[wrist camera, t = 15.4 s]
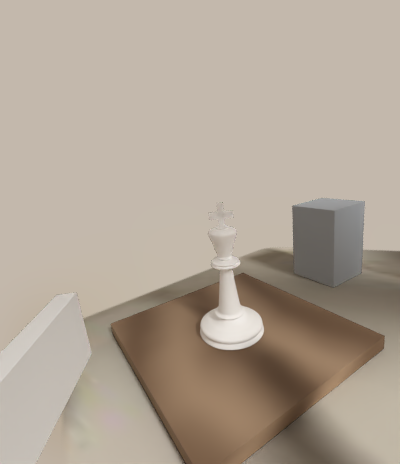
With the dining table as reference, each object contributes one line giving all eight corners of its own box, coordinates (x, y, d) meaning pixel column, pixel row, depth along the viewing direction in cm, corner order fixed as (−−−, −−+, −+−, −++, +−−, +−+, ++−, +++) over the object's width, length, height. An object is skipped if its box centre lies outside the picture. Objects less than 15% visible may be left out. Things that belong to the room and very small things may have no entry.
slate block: (321, 261, 35) (321, 198, 33) (361, 273, 31) (364, 201, 29) (294, 273, 33) (292, 205, 31) (333, 287, 29) (334, 210, 26)
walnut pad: (243, 280, 32) (242, 272, 32) (383, 348, 20) (384, 336, 19) (112, 333, 25) (110, 323, 25) (203, 493, 12) (200, 477, 12)
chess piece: (269, 348, 19) (262, 205, 17) (199, 353, 20) (180, 214, 17) (258, 309, 24) (250, 194, 22) (201, 314, 24) (186, 200, 22)
